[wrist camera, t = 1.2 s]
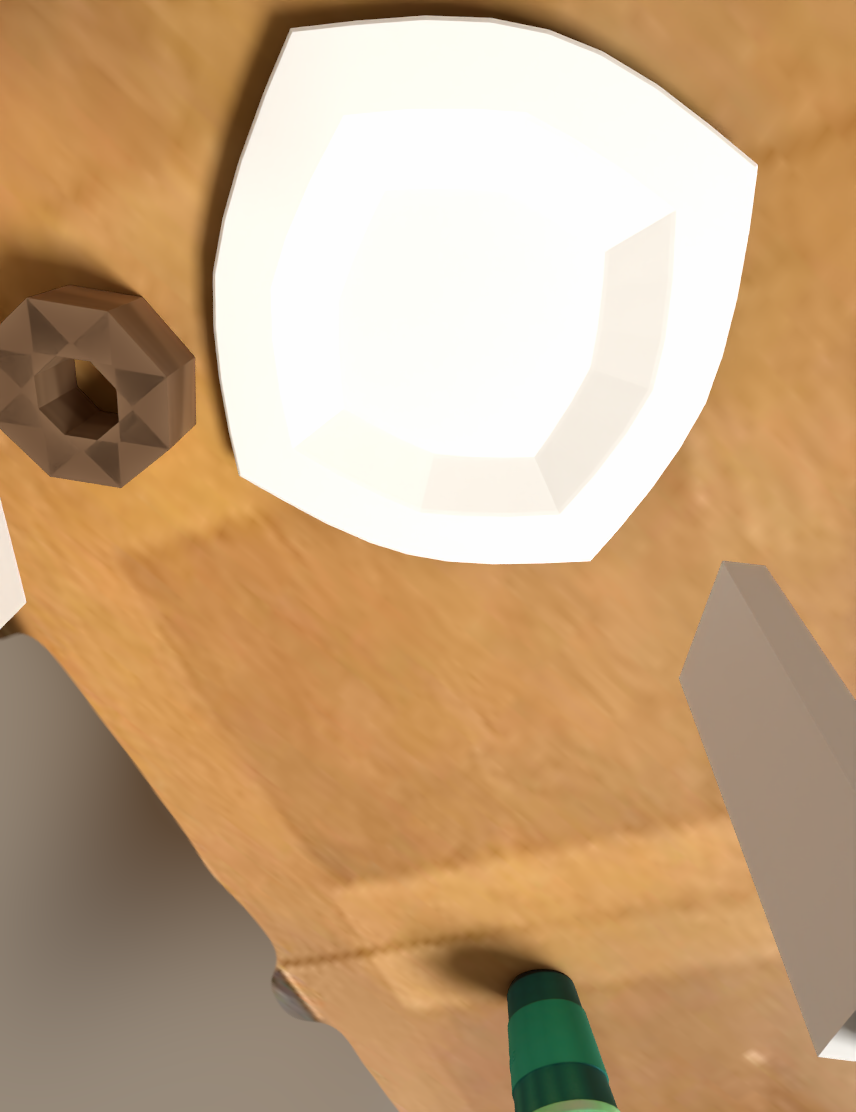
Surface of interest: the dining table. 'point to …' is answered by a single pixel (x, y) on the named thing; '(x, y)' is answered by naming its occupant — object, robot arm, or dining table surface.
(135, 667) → the dining table surface
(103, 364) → the walnut bead
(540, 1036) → the cup
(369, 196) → the plate
